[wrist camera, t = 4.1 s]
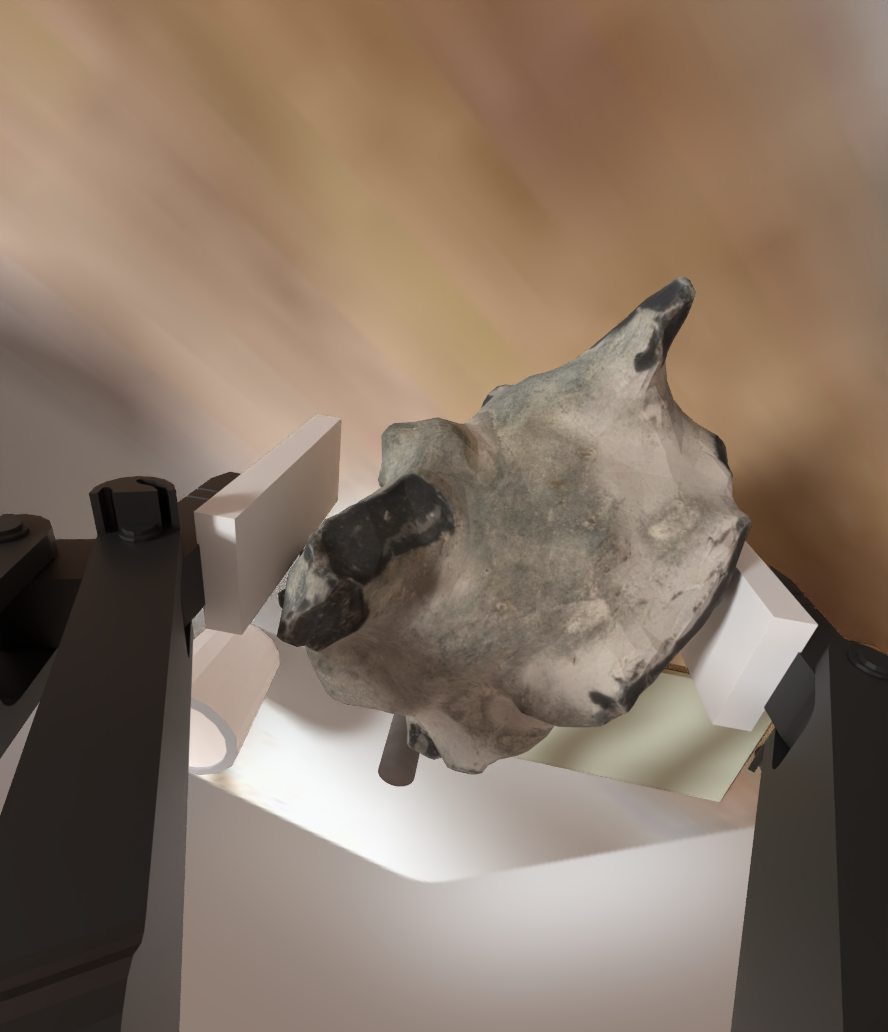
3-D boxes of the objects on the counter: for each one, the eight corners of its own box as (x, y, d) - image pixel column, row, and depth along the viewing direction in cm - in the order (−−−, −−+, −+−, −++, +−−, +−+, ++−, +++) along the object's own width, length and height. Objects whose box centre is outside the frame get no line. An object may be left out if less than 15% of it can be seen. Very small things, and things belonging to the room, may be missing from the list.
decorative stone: (529, 747, 19) (453, 1096, 10) (331, 632, 21) (114, 856, 12) (801, 348, 13) (1243, 373, 4) (482, 216, 14) (240, 1, 5)
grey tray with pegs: (390, 725, 35) (363, 822, 29) (413, 554, 29) (384, 634, 23) (761, 806, 34) (815, 927, 28) (876, 646, 27) (981, 758, 21)
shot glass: (275, 611, 32) (217, 693, 26) (298, 690, 35) (251, 780, 29) (180, 610, 33) (102, 688, 27) (210, 686, 36) (146, 773, 30)
